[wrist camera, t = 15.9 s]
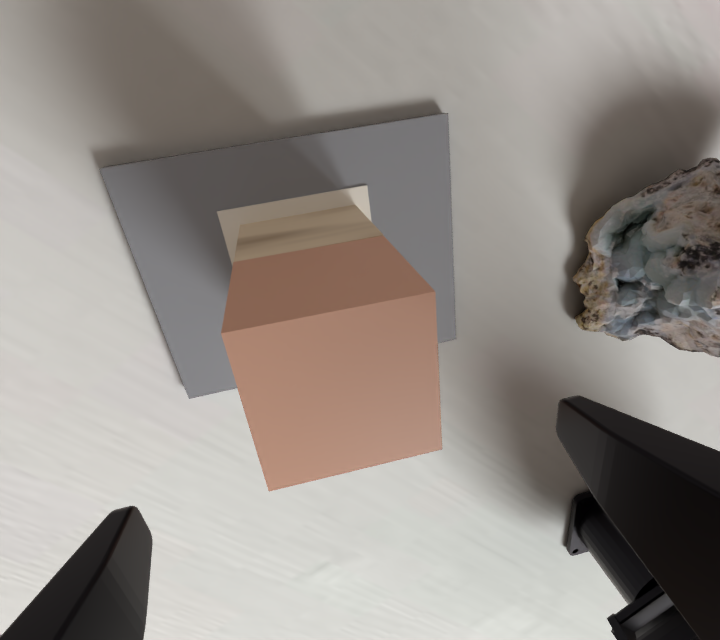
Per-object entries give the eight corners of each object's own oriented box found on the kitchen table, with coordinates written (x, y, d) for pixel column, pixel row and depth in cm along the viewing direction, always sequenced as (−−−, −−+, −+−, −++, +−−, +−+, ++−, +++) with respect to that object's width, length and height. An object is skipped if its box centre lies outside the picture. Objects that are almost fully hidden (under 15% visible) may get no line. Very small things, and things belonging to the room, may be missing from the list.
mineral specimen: (546, 213, 28) (675, 288, 29) (517, 318, 24) (664, 399, 25) (696, 87, 19) (872, 201, 20) (684, 223, 15) (899, 353, 16)
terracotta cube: (395, 360, 17) (441, 449, 13) (266, 387, 16) (268, 491, 12) (383, 235, 15) (435, 291, 10) (233, 262, 14) (220, 333, 10)
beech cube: (368, 306, 21) (396, 359, 17) (266, 328, 21) (268, 388, 16) (355, 204, 19) (383, 234, 15) (239, 225, 19) (233, 262, 14)
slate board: (451, 333, 24) (456, 339, 23) (190, 391, 22) (188, 399, 22) (442, 113, 19) (448, 113, 18) (104, 167, 17) (98, 169, 17)
